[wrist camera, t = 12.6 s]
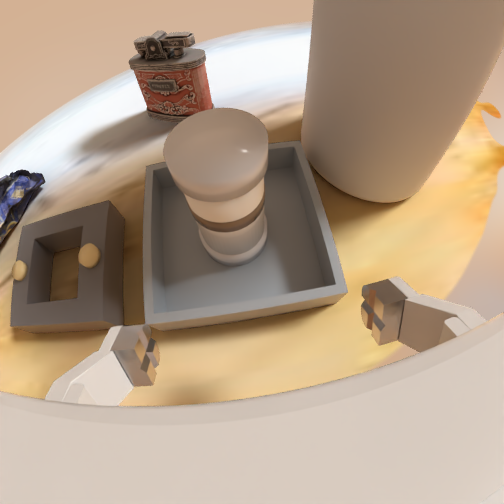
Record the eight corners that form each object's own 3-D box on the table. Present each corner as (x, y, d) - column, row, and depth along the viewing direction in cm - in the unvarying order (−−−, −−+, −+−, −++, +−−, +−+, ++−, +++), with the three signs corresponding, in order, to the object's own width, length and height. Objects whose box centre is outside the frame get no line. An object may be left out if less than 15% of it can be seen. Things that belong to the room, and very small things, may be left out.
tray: (162, 331, 18) (145, 324, 15) (157, 187, 23) (146, 166, 20) (335, 303, 18) (347, 292, 16) (296, 164, 23) (300, 140, 20)
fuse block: (33, 333, 18) (5, 324, 15) (40, 240, 22) (18, 223, 18) (124, 327, 18) (98, 318, 15) (124, 219, 22) (105, 195, 19)
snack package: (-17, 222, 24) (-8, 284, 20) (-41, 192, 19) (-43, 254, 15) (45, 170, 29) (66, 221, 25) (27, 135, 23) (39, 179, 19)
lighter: (142, 119, 27) (113, 46, 18) (158, 101, 28) (135, 30, 19) (207, 126, 26) (188, 39, 16) (220, 107, 27) (208, 24, 18)
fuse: (206, 271, 19) (161, 191, 10) (200, 213, 21) (165, 118, 12) (272, 260, 19) (278, 171, 11) (261, 203, 21) (258, 102, 12)
